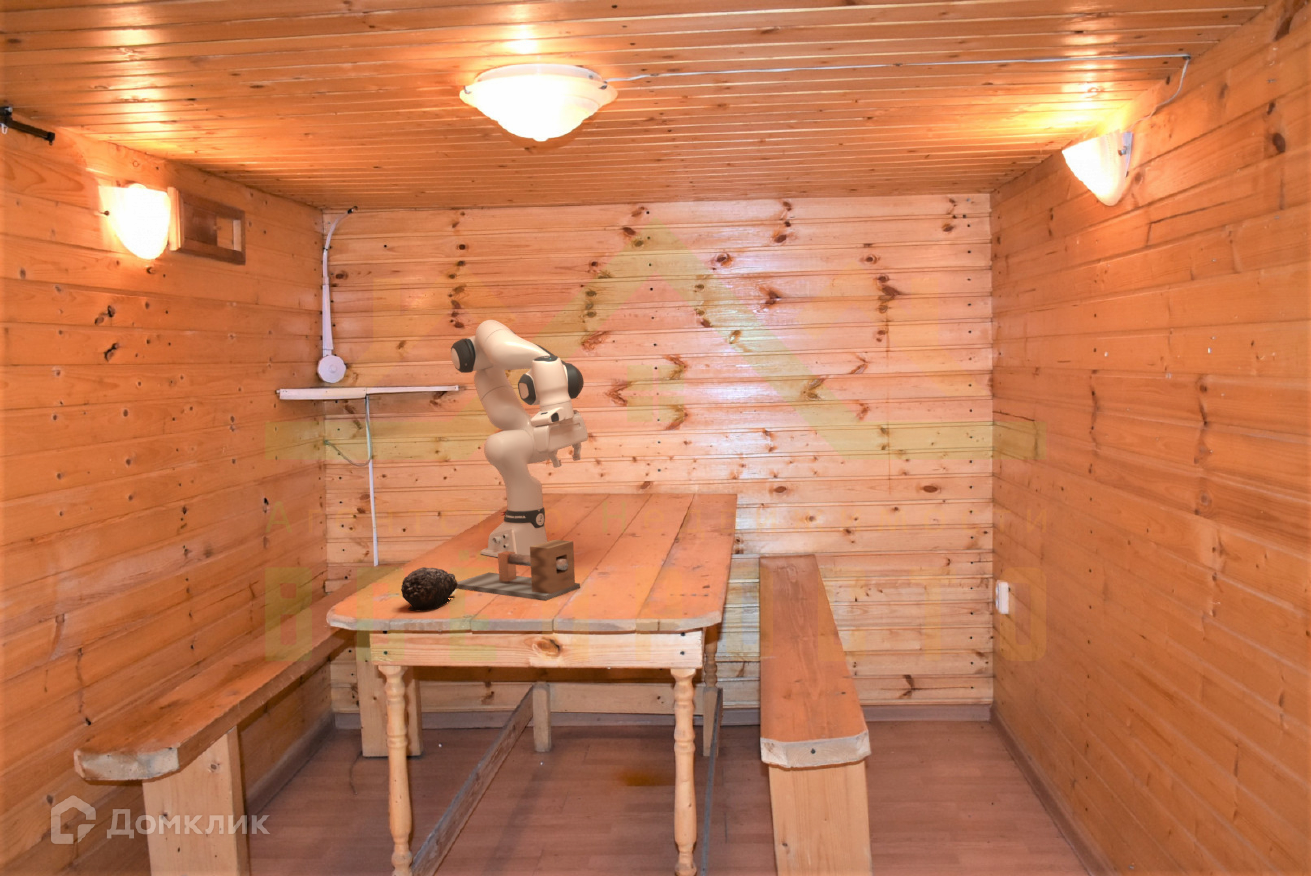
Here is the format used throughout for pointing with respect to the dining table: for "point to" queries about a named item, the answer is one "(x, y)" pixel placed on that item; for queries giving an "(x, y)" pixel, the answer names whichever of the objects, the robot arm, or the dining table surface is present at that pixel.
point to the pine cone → (428, 588)
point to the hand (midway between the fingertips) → (567, 463)
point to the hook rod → (510, 560)
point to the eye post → (533, 575)
